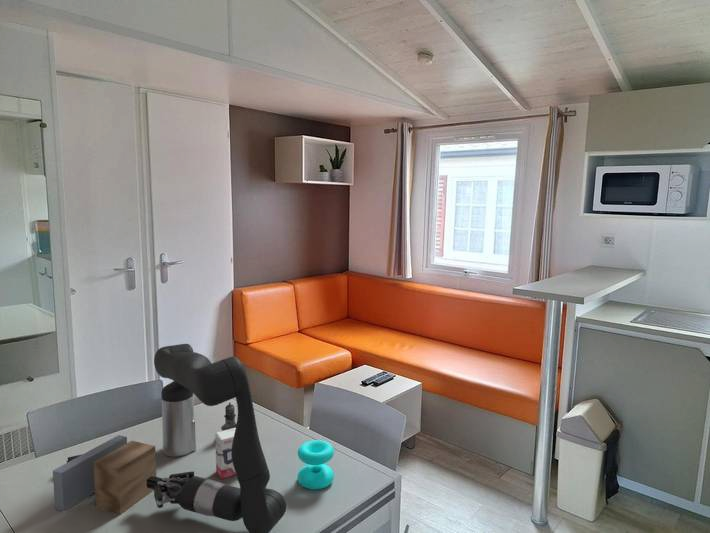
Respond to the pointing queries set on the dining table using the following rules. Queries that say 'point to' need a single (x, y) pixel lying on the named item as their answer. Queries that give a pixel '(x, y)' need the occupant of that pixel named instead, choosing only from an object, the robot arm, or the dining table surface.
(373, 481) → the dining table surface
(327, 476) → the turquoise spool
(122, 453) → the walnut block
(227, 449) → the ink box
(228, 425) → the dark grey figurine
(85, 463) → the slate board
